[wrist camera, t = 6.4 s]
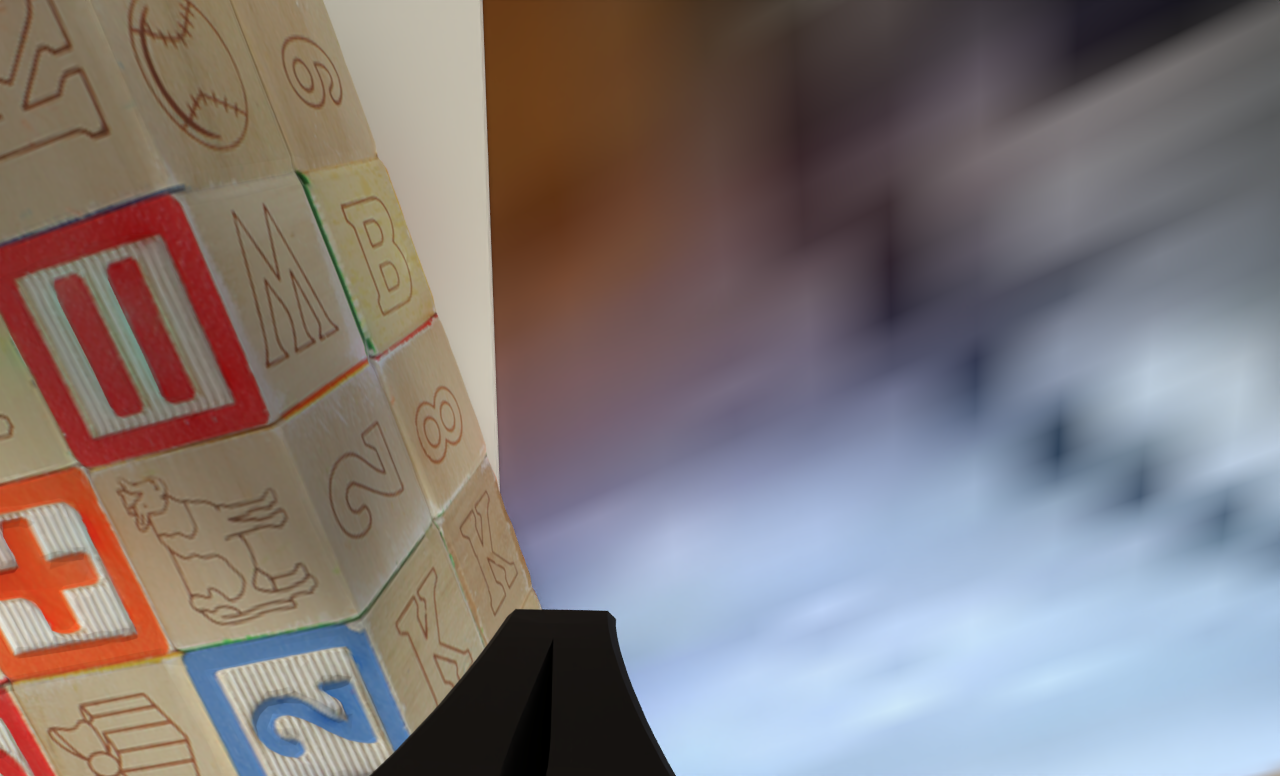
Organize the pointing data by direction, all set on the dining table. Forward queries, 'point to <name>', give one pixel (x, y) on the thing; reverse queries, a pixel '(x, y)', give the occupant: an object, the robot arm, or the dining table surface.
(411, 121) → the mat
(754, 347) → the dining table surface
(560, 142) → the dining table surface
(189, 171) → the stack of blocks
